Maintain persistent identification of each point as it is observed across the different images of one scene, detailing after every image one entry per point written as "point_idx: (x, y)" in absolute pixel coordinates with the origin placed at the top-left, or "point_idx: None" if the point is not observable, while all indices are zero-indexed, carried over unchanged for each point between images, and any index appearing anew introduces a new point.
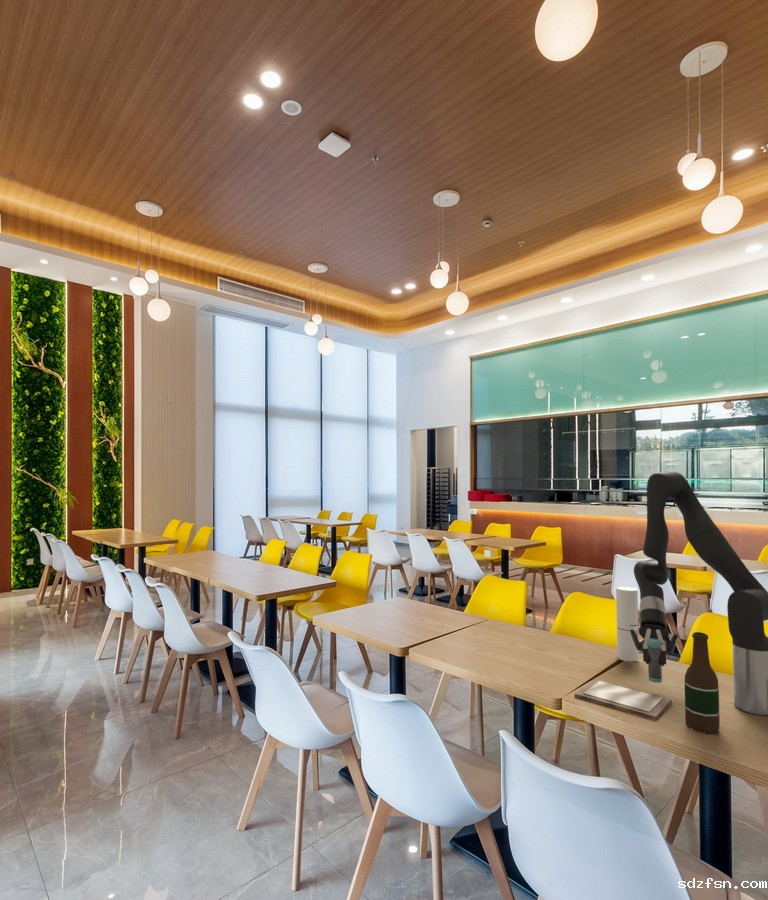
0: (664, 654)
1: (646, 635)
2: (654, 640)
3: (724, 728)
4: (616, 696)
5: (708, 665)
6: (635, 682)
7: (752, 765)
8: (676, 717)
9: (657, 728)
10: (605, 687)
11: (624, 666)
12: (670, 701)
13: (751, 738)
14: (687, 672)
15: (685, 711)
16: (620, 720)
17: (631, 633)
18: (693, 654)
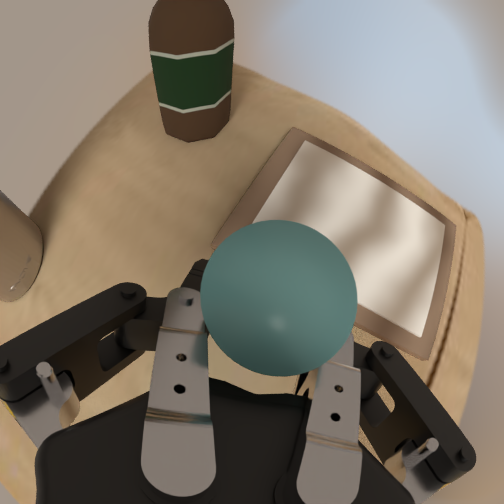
0: (191, 288)
1: (349, 416)
2: (282, 268)
3: (146, 129)
4: (380, 216)
5: None
6: None
7: None
8: (235, 153)
9: (294, 107)
10: (408, 281)
11: None
12: (220, 229)
13: (122, 109)
14: (229, 10)
15: (230, 98)
16: (360, 130)
17: (459, 432)
18: None
